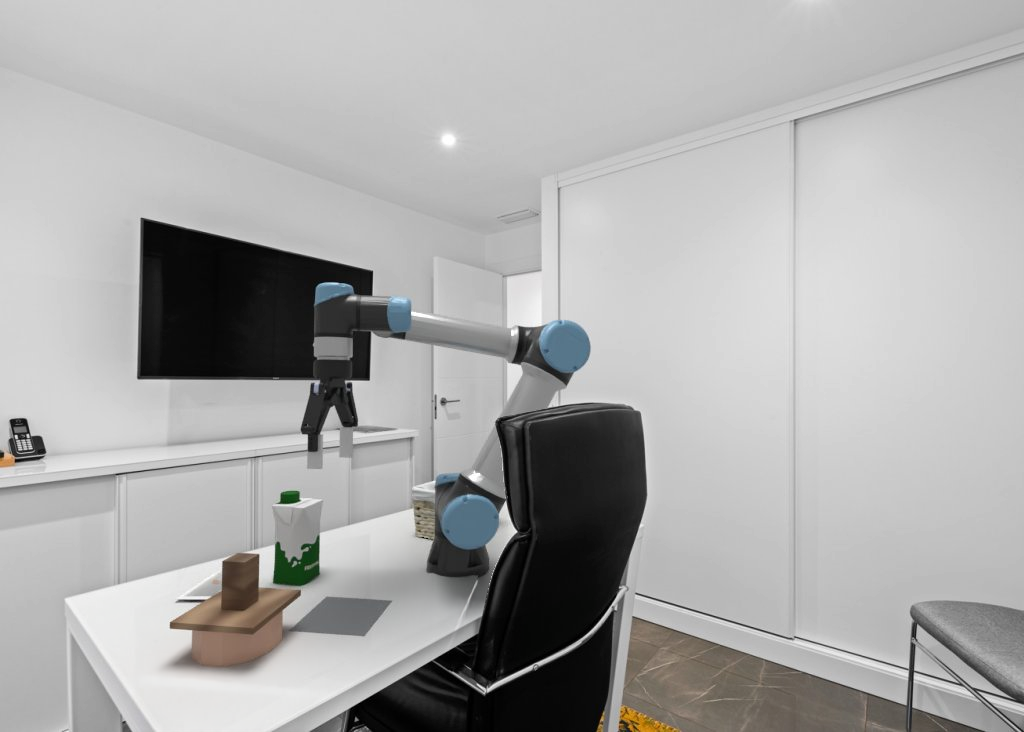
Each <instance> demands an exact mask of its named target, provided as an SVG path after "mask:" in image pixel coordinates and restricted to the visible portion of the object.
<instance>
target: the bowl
mask: <svg viewBox="0 0 1024 732" xmlns="http://www.w3.org/2000/svg"><path fill="white" fill-rule="evenodd" d="M283 611H284V610H282V611H281V612H280V613H279V614H278V615H276V616H275V617H274V618H273V619H271V620H270V621H269V622H268V623H267V624H265V625H264V626H263V627H262V628H260V629H259V630H258V631H257V632H256V633H254V634H253V635H251V634H237V633H223V632H209V631H195V630H191V658H192V659H193V660H195V661H196V662H197V663H198V664H200V665H201V666H212V667H226V666H227V667H228V666H231V665H232V666H233V665H236V664H241V663H248V662H250V661H252V660H254V659H256V658H258V657H261V656H264V655H265V654H268V653H270V652H272V650H273V649H274V648H276V647H277V646H278V645H279V644H280V643H281V642H282V641H283V617H284V616H283V614H284V612H283Z"/></svg>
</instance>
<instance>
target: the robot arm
mask: <svg viewBox="0 0 1024 732" xmlns="http://www.w3.org/2000/svg"><path fill="white" fill-rule="evenodd" d="M314 297H315V298H314V304H313V312H314V315H313V316H314V319H313V320H314V321H313V323H314V324H313V327H314V328H313V330H314V331H313V337H314V338H313V339H314V340H313V344H312V347H313V357H315V358H316V359H314V361H313V367H312V370H313V371H312V374H313V377H314V378H315V379H319V382H311V383H310V387H309V396H308V399H307V404H306V407H305V410H304V415H303V417H302V422H301V427H300V432H301V435H307V449H306V450H307V457H306V458H307V461H306V463H307V464H306V469H307V470H310V469H311V470H321V469H323V459H324V458H323V457H324V453H323V452H324V434H321V433H322V430H323V428H324V425H325V423H326V420H327V418H328V414H329V412H330V410H331V408H332V407H334V409H335V410H336V414H337V415H338V419H339V421H340V424H341V426H340V427H339V451H338V452H339V453H338V454H339V455H338V457H339V458H343V459H344V458H347V459H348V458H353V456H354V453H353V452H354V428H357V427H358V425H359V418H358V413H357V407H356V402H355V398H354V393H353V382H351V381H346V380H345V379H350V378H352V377H353V361H352V360H351V358H353V356H354V355H353V352H354V351H353V348H354V347H353V345H354V343H353V339H354V336H353V332H354V331H355V332H372V333H373V334H374V335H375V336H377V337H380V338H382V339H388V338H389V339H396V340H400V341H401V340H403V341H408V342H414V343H419V344H425V345H431V346H436V347H440V348H447V349H452V350H458V351H465V352H468V353H469V352H470V353H475V354H481V355H486V356H491V357H497V358H503V359H505V360H506V362H507V363H508V364H512V365H513V364H514V365H517V366H521V371H522V375H521V376H520V378H519V379H518V381H517V384H516V385H515V387H514V389H513V391H512V392H511V394H510V396H509V398H508V400H507V402H506V404H505V405H504V407H503V409H502V411H501V413H499V414H500V415H499V416H498V418H500V417H503V416H508V415H513V414H518V413H525V412H530V411H536V410H541V409H547V410H548V408H549V406H550V404H551V402H552V400H553V399H554V397H555V395H556V393H557V392H558V391H562V390H564V389H566V388H567V386H568V385H569V383H570V381H571V379H572V378H573V375H574V373H575V372H578V371H579V370H581V369H582V368H583V367H584V366H585V365H587V363H588V361H589V360H590V359H589V358H590V356H591V348H592V347H591V341H590V339H589V335H588V334H587V331H586V330H585V329H584V328H583V327H582V326H581V325H580V324H579V323H577V322H575V321H573V320H569V319H555V320H552V321H550V322H548V323H546V324H543V325H540V326H538V325H537V326H522V325H516V324H515V325H514V326H512V327H505V326H500V325H494V324H490V323H489V324H488V323H486V322H485V323H484V322H479V321H474V320H468V319H465V318H458V317H453V316H447V315H442V314H437V313H431V312H427V311H426V312H425V311H421V310H415V309H413V308H412V300H411V299H410V298H409V297H405V296H404V297H403V296H397V295H392V296H391V295H390V296H389V295H388V296H387V295H384V296H383V295H361V294H355V292H354V287H353V286H352V285H350V284H347V283H339V282H323V283H319V284H318V285H317V286H316V287H315V296H314ZM435 480H436V482H435V486H434V488H435V536H434V540H432V543H431V547H430V550H429V552H428V556H427V558H426V572H427V574H434V575H437V576H440V577H447V578H464V577H471V576H475V577H476V576H477V578H479V577H481V576H483V575H485V574H487V573H488V572H489V571H490V556H489V553H488V550H487V544H488V543H490V541H492V540H493V539H494V537H495V535H496V533H497V532H498V528H499V524H500V513H501V511H502V509H503V507H504V506H505V503H506V501H507V499H506V498H505V491H504V482H503V471H502V457H501V448H500V443H499V439H498V435H497V431H496V427H495V424H494V425H493V427H492V429H491V431H490V432H489V434H488V436H487V439H486V440H485V442H484V444H483V445H482V447H481V449H480V451H479V453H478V454H477V457H476V459H475V461H474V462H473V464H472V466H471V467H470V468H468V469H465V470H461V471H460V472H449V473H441V474H438V475H437V476H436V477H435Z"/></svg>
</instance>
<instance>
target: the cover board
mask: <svg viewBox="0 0 1024 732" xmlns="http://www.w3.org/2000/svg"><path fill="white" fill-rule="evenodd" d="M221 562H222V563H221V564H222V565H221V567H222V568H221V571H222V590H221V591H220V592H218V593H217V594H215V595H213V596H212V597H210V598H208V599H204V601H201V603H199V604H197V605H195V606H194V607H192V608H191V609H188V610H187V611H185V612H184V613H183V614H181V615H180V616H178V617H176V618H175V619H172V620H171V621H169V629H171V630H184V631H192V630H195V631H209V632H223V633H237V634H251V635H253V634H254V633H256V632H257V631H258V630H259V629H260V628H262V627H263V626H264V625H265V624H267V623H268V622H269V621H270V620H271V619H273V618H274V617H275V616H276V615H278V614H279V613H280V612H281V611H282V610H283V611H284V610H285V609H287V607H289V606H290V605H291V604H292V603H294V602H295V601H297V600H298V598H300V597H301V596H302V590H301V589H295V588H294V589H291V588H279V587H278V588H274V587H260V553H249V552H248V553H247V552H246V553H245V552H236V553H235V554H233V555H231V556H230V557H227V558H226V559H224V560H222V561H221Z"/></svg>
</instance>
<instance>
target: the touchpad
mask: <svg viewBox="0 0 1024 732" xmlns="http://www.w3.org/2000/svg"><path fill="white" fill-rule="evenodd" d="M221 590H222V570H216V571H215V572H213V573H211V575H209V576H208V577H206V578H204V579H203V580H201V581H200V582H199V583H197V584H195V585H194V586H193V587H191V588H189V589H188V590H187V591H185V592H184V593H183V594H181V595H180V596H178V597H176V598H175V600H207V599H208V598H210V597H212V596H213V595H215V594H217V593H218V592H220V591H221Z"/></svg>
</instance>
